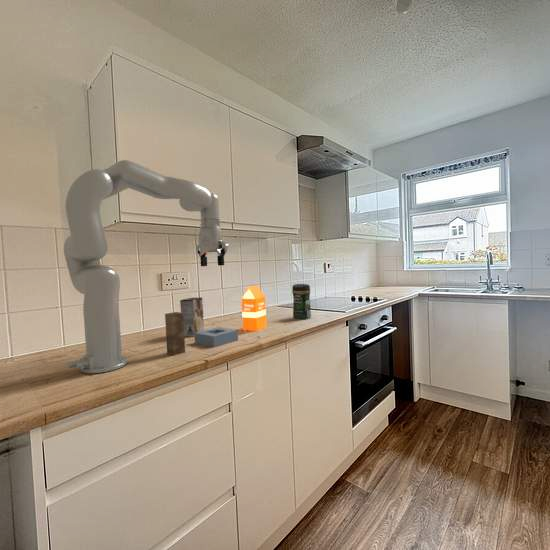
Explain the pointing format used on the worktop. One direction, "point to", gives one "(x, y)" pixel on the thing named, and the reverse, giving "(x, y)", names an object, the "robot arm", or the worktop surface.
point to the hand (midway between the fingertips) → (212, 265)
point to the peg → (175, 333)
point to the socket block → (216, 336)
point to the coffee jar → (301, 301)
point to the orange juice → (253, 309)
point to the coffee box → (192, 315)
